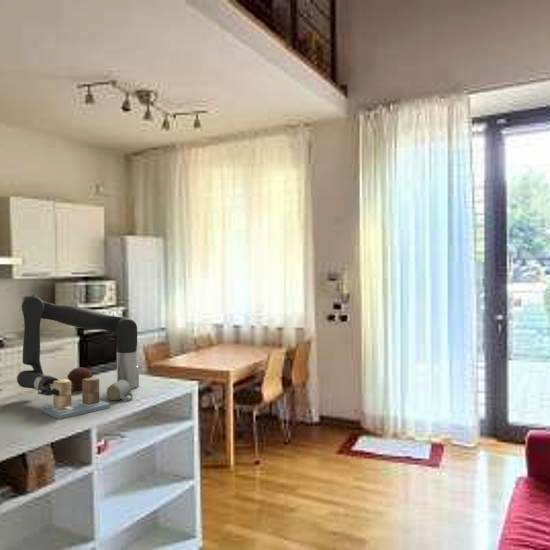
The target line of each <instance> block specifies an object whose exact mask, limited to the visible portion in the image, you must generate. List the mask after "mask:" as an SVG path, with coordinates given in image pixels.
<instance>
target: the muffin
mask: <svg viewBox="0 0 550 550" xmlns="http://www.w3.org/2000/svg"><path fill="white" fill-rule="evenodd" d="M93 375H94V374H93V373H92V372H91V370H90V369H88V368H87V367H84V366H83V367H81V366H80V367H75V368H73V369H72V370H70V372H69V373H68V375H67V377H66V378H67V379H68V380H70V381H71V383H72V384H73V388H74V392H75V391H77V392H82V379H86V378H91V377H93Z"/></svg>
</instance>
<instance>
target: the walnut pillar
mask: <svg viewBox="0 0 550 550" xmlns="http://www.w3.org/2000/svg"><path fill="white" fill-rule="evenodd" d="M81 392H82V393H81V394H82V398H81V400H82V403H84V404H86V405H91V404H96V403H100V402H99V400H100V379H99V378H97V377H94V376H92V377H91V378H86V379H82V391H81Z"/></svg>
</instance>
